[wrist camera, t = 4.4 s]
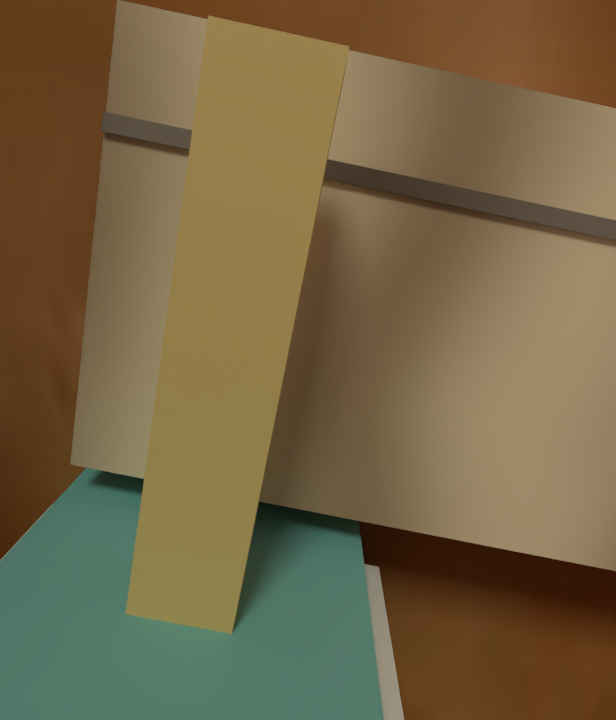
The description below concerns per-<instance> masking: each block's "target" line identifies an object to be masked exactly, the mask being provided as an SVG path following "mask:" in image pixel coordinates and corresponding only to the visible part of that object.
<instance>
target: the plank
mask: <svg viewBox="0 0 616 720" xmlns="http://www.w3.org/2000/svg"><path fill="white" fill-rule="evenodd" d="M207 21H208V19H203V18H199V17H194V16H190V15H185V14H180V13H176V12H171V11H167V10H162V9H158V8H153V7H148V6H144V5H139V4H135V3H130V2H125V1H121V0H117V8H116V18H115V28H114V38H113V48H112V57H111V67H110V77H109V87H108V97H107V107H106V112H103V122H102V131H103V132H104V136H103V146H102V156H101V166H100V176H99V186H98V196H97V206H96V216H95V225H94V235H93V245H92V255H91V265H90V275H89V285H88V295H87V304H86V314H85V324H84V334H83V344H82V354H81V364H80V374H79V383H78V393H77V403H76V413H75V423H74V433H73V443H72V453H71V463H70V465H76V466H81V467H86V468H91V469H96V470H101V471H106V472H111V473H116V474H122V475H127V476H132V477H137V478H142V479H144V476H145V469H146V461H147V454H148V447H149V440H150V433H151V425H152V418H153V411H154V404H155V396H156V389H157V382H158V375H159V368H160V360H161V353H162V346H163V339H164V331H165V324H166V317H167V310H168V302H169V295H170V288H171V281H172V274H173V266H174V259H175V252H176V245H177V237H178V230H179V223H180V216H181V209H182V201H183V194H184V187H185V180H186V172H187V165H188V158H189V151H190V143H191V136H192V129H193V122H194V115H195V107H196V100H197V93H198V86H199V78H200V71H201V64H202V57H203V50H204V42H205V35H206V28H207ZM259 501H260V502H265V503H270V504H275V505H280V506H285V507H290V508H295V509H301V510H306V511H311V512H316V513H321V514H326V515H331V516H336V517H341V518H347V519H352V520H357V521H362V522H367V523H372V524H377V525H382V526H387V527H393V528H398V529H403V530H408V531H413V532H418V533H423V534H428V535H433V536H439V537H444V538H449V539H454V540H459V541H464V542H469V543H474V544H479V545H485V546H490V547H495V548H500V549H505V550H510V551H515V552H520V553H525V554H531V555H536V556H541V557H546V558H551V559H556V560H561V561H566V562H572V563H577V564H582V565H587V566H592V567H597V568H602V569H607V570H612V571H616V108H611V107H607V106H602V105H598V104H593V103H588V102H584V101H579V100H575V99H570V98H565V97H561V96H556V95H552V94H547V93H543V92H538V91H533V90H529V89H524V88H520V87H515V86H510V85H506V84H501V83H497V82H492V81H488V80H483V79H478V78H474V77H469V76H465V75H460V74H455V73H451V72H446V71H442V70H437V69H433V68H428V67H423V66H419V65H414V64H410V63H405V62H400V61H396V60H391V59H387V58H382V57H378V56H373V55H368V54H364V53H359V52H355V51H350V50H349V51H348V57H347V63H346V68H345V74H344V80H343V85H342V90H341V95H340V100H339V105H338V110H337V115H336V120H335V125H334V130H333V135H332V140H331V145H330V150H329V155H328V160H327V165H326V170H325V175H324V180H323V185H322V190H321V195H320V200H319V205H318V210H317V215H316V220H315V225H314V230H313V235H312V240H311V245H310V250H309V255H308V260H307V265H306V270H305V275H304V280H303V285H302V290H301V295H300V300H299V305H298V310H297V315H296V320H295V325H294V330H293V335H292V340H291V345H290V350H289V355H288V360H287V365H286V370H285V375H284V380H283V385H282V390H281V395H280V400H279V405H278V410H277V415H276V420H275V425H274V430H273V435H272V440H271V445H270V450H269V455H268V460H267V465H266V469H265V474H264V479H263V484H262V489H261V494H260V499H259Z"/></svg>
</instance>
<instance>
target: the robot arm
mask: <svg viewBox="0 0 616 720" xmlns="http://www.w3.org/2000/svg"><path fill="white" fill-rule="evenodd" d="M52 505H53V504H52ZM52 505H51V506H52ZM51 506H50V507H51ZM50 507H49V508H50ZM49 508H48V509H49ZM48 509H47V510H48ZM47 510H46V511H47ZM46 511H45V512H46ZM45 512H44V513H45ZM44 513H43V514H44ZM43 514H42V515H43ZM41 517H42V516H41ZM41 517H40V518H41ZM40 518H39V519H40ZM39 519H38V520H39ZM38 520H37V521H38ZM37 521H36V522H37ZM36 522H35V523H36ZM35 523H34V524H35ZM34 524H33V525H34ZM33 525H32V526H33ZM32 526H31V527H32ZM31 527H30V528H31ZM30 528H29V530H30ZM29 530H28V531H29ZM28 531H27V532H28ZM27 532H26V533H27ZM26 533H25V534H26ZM25 534H24V535H25ZM24 535H23V536H24ZM23 536H22V537H23ZM22 537H21V538H22ZM21 538H20V539H21ZM20 539H19V540H20ZM19 540H18V541H19ZM18 541H17V543H18ZM17 543H16V544H17ZM16 544H15V545H16ZM15 545H14V546H15ZM14 546H13V547H14ZM13 547H12V548H13ZM12 548H11V549H12ZM11 549H10V550H11ZM10 550H9V551H10ZM9 551H8V552H9ZM8 552H7V553H8ZM7 553H6V554H7ZM6 554H5V555H6ZM5 555H4V557H5ZM4 557H3V558H4ZM3 558H2V559H3ZM2 559H1V560H2ZM1 560H0V561H1ZM364 566H365V574H366V582H367V590H368V598H369V606H370V613H371V621H372V629H373V637H374V645H375V653H376V661H377V669H378V677H379V685H380V693H381V700H382V708H383V716H384V720H404V716H403V710H402V704H401V698H400V692H399V686H398V680H397V674H396V668H395V662H394V656H393V650H392V644H391V638H390V632H389V626H388V620H387V614H386V608H385V602H384V595H383V589H382V583H381V577H380V571H379V567H378V566H373V565H367V564H364Z"/></svg>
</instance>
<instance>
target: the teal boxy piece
mask: <svg viewBox="0 0 616 720" xmlns="http://www.w3.org/2000/svg"><path fill="white" fill-rule="evenodd" d="M348 51H349V46H345V45H340V44H335V43H331V42H326V41H322V40H317V39H313V38H308V37H304V36H299V35H295V34H290V33H285V32H281V31H276V30H272V29H267V28H263V27H258V26H254V25H249V24H245V23H240V22H235V21H231V20H226V19H222V18H217V17H213V16H208V21H207V28H206V35H205V42H204V50H203V57H202V64H201V71H200V78H199V86H198V93H197V100H196V107H195V115H194V122H193V129H192V136H191V143H190V151H189V158H188V165H187V172H186V180H185V187H184V194H183V201H182V209H181V216H180V223H179V230H178V237H177V245H176V252H175V259H174V266H173V274H172V281H171V288H170V295H169V302H168V310H167V317H166V324H165V331H164V339H163V346H162V353H161V360H160V368H159V375H158V382H157V389H156V396H155V404H154V411H153V418H152V425H151V433H150V440H149V447H148V454H147V461H146V469H145V476H144V479H142V478H137V477H132V476H127V475H122V474H116V473H111V472H106V471H101V470H96V469H91V468H86V469H85V470H84V471H83V472H82V473H81V474H80V475H79V477H78V478H77V479H76V480H75V481H74V482H73V483H72V484H71V485H70V486H69V487H68V488H67V490H66V491H65V492H64V493H63V494H62V495H61V496H60V497H59V498H58V499H57V500H56V501H55V503H54V504H53V505H52V506H51V507H50V508H49V509H48V510H47V511H46V512H45V513H44V514H43V515H42V517H41V518H40V519H39V520H38V521H37V522H36V523H35V524H34V525H33V526H32V527H31V528H30V530H29V531H28V532H27V533H26V534H25V535H24V536H23V537H22V538H21V539H20V540H19V541H18V543H17V544H16V545H15V546H14V547H13V548H12V549H11V550H10V551H9V552H8V553H7V554H6V555H5V557H4V558H3V559H2V560H1V561H0V720H384V716H383V708H382V700H381V693H380V685H379V677H378V669H377V661H376V653H375V645H374V637H373V629H372V621H371V613H370V606H369V598H368V590H367V582H366V574H365V566H364V558H363V550H362V542H361V534H360V527H359V521H357V520H352V519H347V518H341V517H336V516H331V515H326V514H321V513H316V512H311V511H306V510H301V509H295V508H290V507H285V506H280V505H275V504H270V503H265V502H260V501H259V499H260V494H261V489H262V484H263V479H264V474H265V469H266V465H267V460H268V455H269V450H270V445H271V440H272V435H273V430H274V425H275V420H276V415H277V410H278V405H279V400H280V395H281V390H282V385H283V380H284V375H285V370H286V365H287V360H288V355H289V350H290V345H291V340H292V335H293V330H294V325H295V320H296V315H297V310H298V305H299V300H300V295H301V290H302V285H303V280H304V275H305V270H306V265H307V260H308V255H309V250H310V245H311V240H312V235H313V230H314V225H315V220H316V215H317V210H318V205H319V200H320V195H321V190H322V185H323V180H324V175H325V170H326V165H327V160H328V155H329V150H330V145H331V140H332V135H333V130H334V125H335V120H336V115H337V110H338V105H339V100H340V95H341V90H342V85H343V80H344V74H345V68H346V63H347V57H348Z"/></svg>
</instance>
